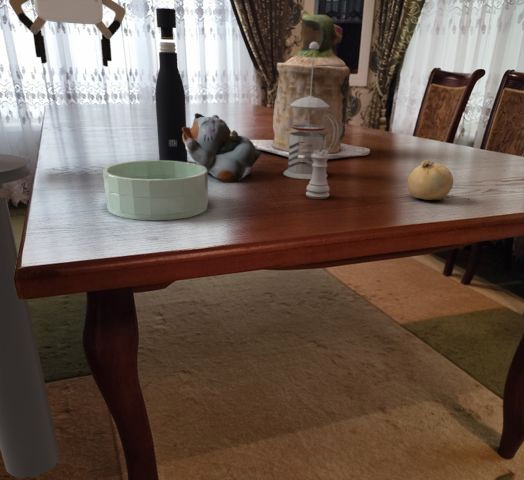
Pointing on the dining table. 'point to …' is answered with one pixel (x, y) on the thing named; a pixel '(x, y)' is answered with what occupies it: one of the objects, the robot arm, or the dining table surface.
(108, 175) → the bowl
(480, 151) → the dining table surface
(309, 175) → the french press
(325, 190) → the rook chess piece
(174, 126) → the black water bottle
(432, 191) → the onion
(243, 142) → the lucky cat figurine
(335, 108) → the cookie jar
